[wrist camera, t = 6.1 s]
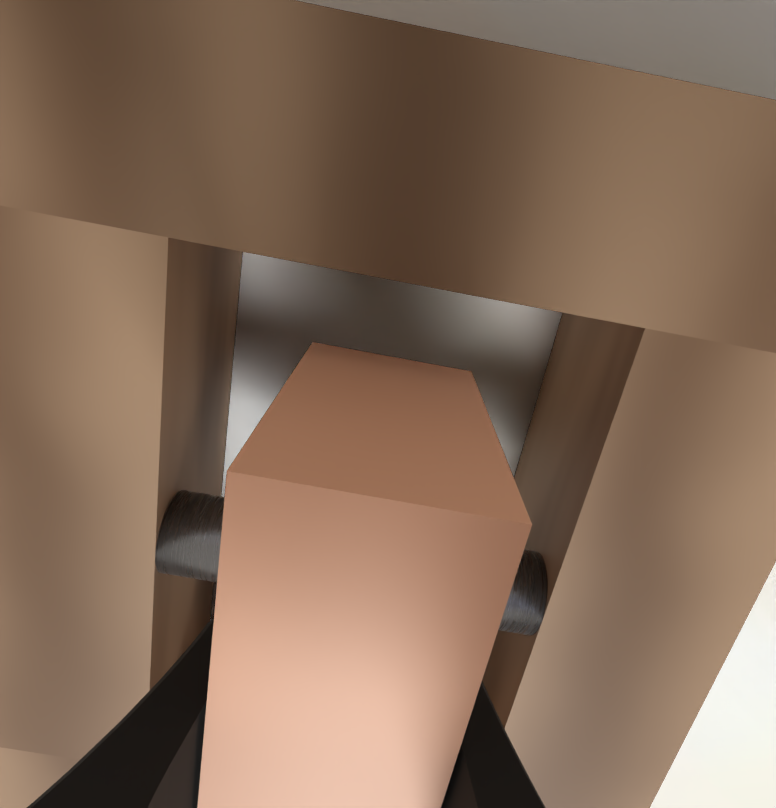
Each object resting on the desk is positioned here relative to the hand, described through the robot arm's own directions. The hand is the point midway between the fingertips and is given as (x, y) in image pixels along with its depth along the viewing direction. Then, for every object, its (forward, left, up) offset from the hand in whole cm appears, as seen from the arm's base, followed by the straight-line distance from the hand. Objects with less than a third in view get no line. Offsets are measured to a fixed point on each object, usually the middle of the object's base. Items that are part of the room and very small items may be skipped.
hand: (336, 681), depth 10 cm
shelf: (0, 0, -8) cm, 8 cm away
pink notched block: (0, 0, -4) cm, 4 cm away
